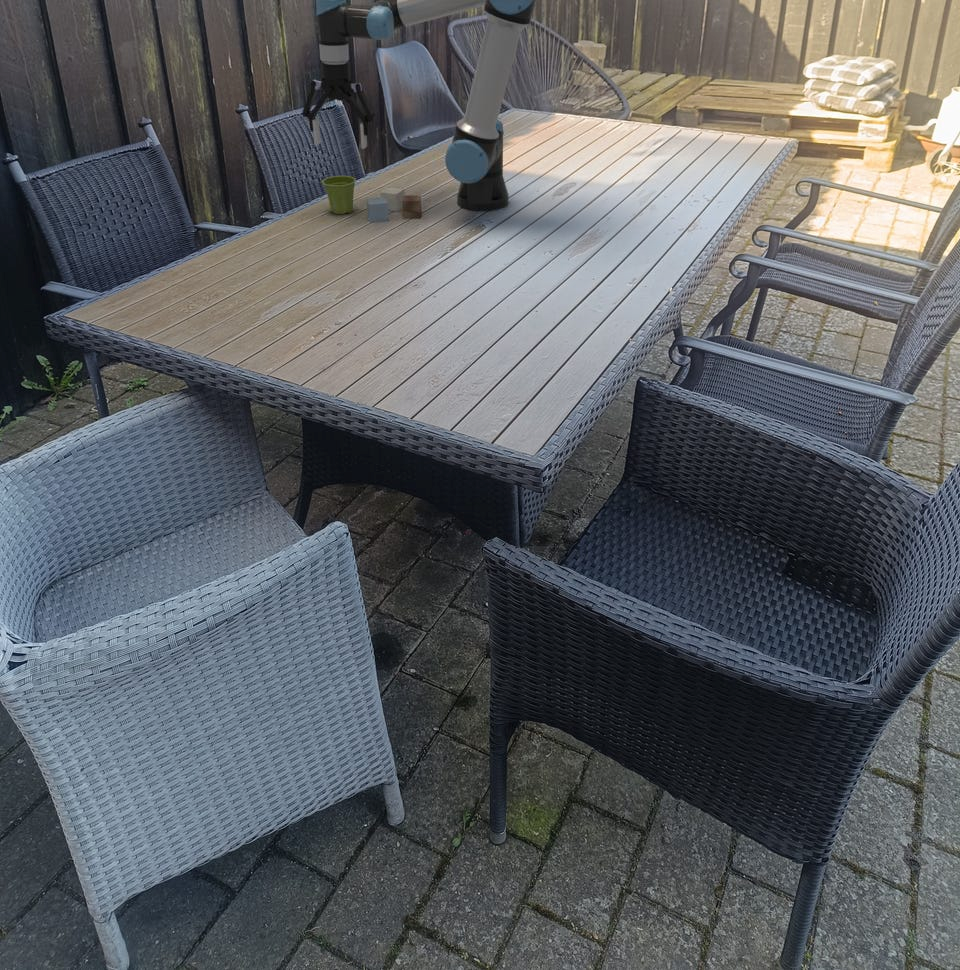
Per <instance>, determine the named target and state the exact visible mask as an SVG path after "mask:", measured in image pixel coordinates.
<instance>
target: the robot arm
mask: <svg viewBox="0 0 960 970" xmlns="http://www.w3.org/2000/svg"><path fill="white" fill-rule="evenodd" d="M536 2H537V0H378V1H374V2H372V3H369V4H349V3H347V1H346V0H315V5H316V14H315V15H316V20H317V21H316V22H317V32H318V33H317V34H318V44H319V45H318V46H319V58H320V59H319V60H320V61H321V63H320V71H321V72H320V74H321V81H319V80H318V79H317V78H315V79H313V80H311V81H310V90H309V93H308V96H307V98H306V102H305V104H304V106H303V108H302V112H301V115H302V116H301V117H305V118H308V121H309V130H310V132H312V133H313V142H314V145H315V146H318V145H320V144H321V132H320V121H319V117H317V115H318V114H319V112H320V111H321V110H322V108H323V106H324V105H326V102H327V101H328V100H329V99H330V100H331V101H336V100H337V101H341V102H342V101H345V102H346V104H348V105H349V106H350V107H351V109H352V110H353V112H354V113H355V114H356V116H357V117H358V118H359V119H360V120H361V122H360V123H359V125H360V129H359V130H360V143H361V144H360V145H361V149H362V150H364V149H366V148H367V147H368V141H367V139H368V137H367V136H369V135H370V133H371V132H370V123H371V122H373V121H376V115H375V113H374V111H373V110H374V109H372V107H371V104H370V102H369V100H368V98H367V95H366V94H365V92H364V86H363V83H362V82H361V81H360V82H357V83H352V81H351V70H350V62H348V61H349V60H350V56H349V55H350V54H349V53H350V51H349V38H350V39H351V38H354V39H364V40H365V39H366V40H375V41H381V40H383V41H384V40H390V38H391V37H392V35H393V32H394V31H396V30H399V29H403V28H405V27H410V26H414V25H418V24H420V23H426V22H428V21H433V20H436V19H440V18H444V17H447V16H451V15H455V14H460V13H463V12H467V11H472V10H475V9H478V8H482V7H484V8H483V11H484V14H485V16H486V18H487V22H486V27H485V31H484V35H483V38H482V39H483V40H482V43H481V47H480V50H479V55H478V60H477V63H476V68H475V71H474V72H475V73H474V76H473V79H472V84H471V87H470V91H469V96H468V99H467V104H466V109H465V113H464V116H463V118H461V119H459V120H458V121H457V122H456V125H455V129H454V133H453V137H452V142H451V143H450V145H449V146H448V147H447V150H446V153H445V156H444V157H445V158H444V159H445V160H444V161H445V163H444V164H445V167H446V169H447V171H448V173H449V175H450V176H451V177H452V178H453V179H454V180H455V181H458V182H460V184H459V188H458V191H457V194H456V204H457V205H458V206H459V207H460V208H463V209H467V210H472V211H493V210H498V209H503V208H505V207H506V206H508V204H509V200H510V199H509V192H508V189H507V185H506V182H505V179H504V171H503V170H504V164H503V162H504V160H503V159H504V134H505V133H504V124H503V122H502V121H501V120H498V119H499V114H500V111H501V107H502V104H503V101H504V97H505V93H506V89H507V84H508V81H509V77H510V74H511V70H512V67H513V62H514V59H515V55H516V53H517V52H516V51H517V47H518V46H519V45H518V44H519V39H520V37H521V33H522V31H523V30H524V29H526V28H527V27H528V26H530V23H531V20H532V17H533V12H534V9H535V6H536ZM320 88H321V89H322V90H323V92H324V93H322V96H321V97H320V99H319V101H318V102H317V103H316V105H315V106H314V107H313V109H312V106H313V103H314V101H315V98H316V95H317V93H318V91H319V90H320ZM352 90H353V91H354V93H356V96H357V98H358V99H359V102H360V104H359V103H358V102H357V101H356V100H355V98H354V96H353V94H352V93H351V91H352ZM361 106H362V107H361Z"/></svg>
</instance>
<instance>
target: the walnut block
mask: <svg viewBox="0 0 960 970" xmlns="http://www.w3.org/2000/svg"><path fill="white" fill-rule="evenodd" d="M401 210H402V219H405V220H409V219H421V218H422V210H423V209H422V195H420V194H417V195H416V194H415V195H411V194H410V195H405V196H403V199H402V209H401Z"/></svg>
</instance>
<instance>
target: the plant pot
mask: <svg viewBox="0 0 960 970" xmlns="http://www.w3.org/2000/svg"><path fill="white" fill-rule="evenodd" d="M356 181H357V179H356V178H355V177H353V176H349V175H334V176H329V177H326V178H324V179H323V180H322V184H323V186H324V189H325V190H326V194H327V198H328V201H329V202H328V203H329V206H330V210H331V212H333V214H336V215H344V214H346V213H347V214H351V212H353V210H354V194H355V193H354V191H355V190H354V188H355V185H356V184H355V183H356Z"/></svg>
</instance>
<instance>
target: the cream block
mask: <svg viewBox="0 0 960 970" xmlns="http://www.w3.org/2000/svg"><path fill="white" fill-rule="evenodd" d="M403 196H406V194H405V189H404V188H403V189H402V188H395V187H388V188H385V189H383V190H382V191H380V198H384V199H385V200H386V202H387V206H388V211H390V212H399V211H400V210H403V209H402V199H403Z"/></svg>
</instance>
